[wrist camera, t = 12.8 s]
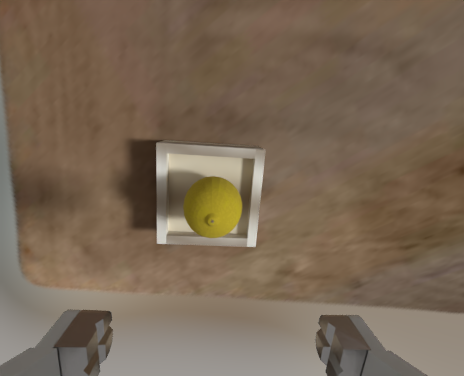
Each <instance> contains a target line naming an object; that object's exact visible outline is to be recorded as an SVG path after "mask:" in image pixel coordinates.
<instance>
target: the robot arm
mask: <svg viewBox="0 0 464 376" xmlns="http://www.w3.org/2000/svg"><path fill="white" fill-rule="evenodd" d="M111 321H112V314H111V312H110V311H98V310H67V311H65V312H64V313H63V314H62V315H61V317H60V318H59V319H58V320H57V321H56V323H55V324H54V325H53V326H52V327H51V329H50V330H49V331H48V332H47V334H46V335H45V336H44V337H43V338H42V340H41V341H40V342H39V343H38V344H37V346H36V347H35V348H29V349H27V350H26V351H24V352H23V353H21V354H19V355H17V356H16V357H14V358H12V359H11V360H9V361H7V362H5V363H4V364H2V365H1V366H0V376H98V375H99V373H100V364H101V363H102V362H103V361H104V360H105V359H106V358H107V356H108V354H109V351H110V348H111V344H112V339H113V338H112V337H113V329H111V327H110V326H109V324H110V323H111ZM319 325H320V327H321V329H320V330H319V331H318V332H317V333H316V349H317V353H318V355H319V358H320V360H321V361H322V362H323V363H324V364H325V365H327V367H326V374H327V376H427V375H426V374H424V373H423V372H421V371H420V370H418V369H417V368H415V367H414V366H412V365H411V364H409V363H408V362H406V361H405V360H403V359H402V358H400V357H399V356H397V355H396V354H394V353H393V352H391V351H386V350H385V348H384V347H383V346H382V344H381V343H380V342H379V340H378V339H377V338H376V336H375V335H374V334H373V332H372V331H371V330H370V328H369V327H368V326H367V324H366V323H365V322H364V320H363V319H362V318H361V317H360V316H358V315H321V316H320V318H319Z"/></svg>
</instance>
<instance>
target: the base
mask: <svg viewBox="0 0 464 376" xmlns="http://www.w3.org/2000/svg"><path fill="white" fill-rule="evenodd" d="M264 160H265V149H263V148H261V147H259V146H246V145H231V144H216V143H200V142H185V141H170V140H164V141H160V142H157V143H156V178H157V244H182V245H211V246H241V247H256V238H257V228H258V218H259V209H260V199H261V189H262V179H263V170H264ZM211 176H215V177H221V178H224V179H226V180H228V181H229V182H231V183H232V184H233V185H234V186H235V187H236V189H237V190H238V192H239V194H240V196H241V201H242V214H241V217H240V220H239V222H238V223H237V225H236V226H235V228H234V229H233V230H232V231H231V232H230V233H228V234H226V235H224V236H222V237H219V238H206V237H203V236H201V235H198V234H197V233H196V232H194V231H193V230H192V229H191V228H190V226H189V225H188V224H187V221H186V219H185V216H184V210H183V205H184V198H185V196H186V194H187V191H188V190H189V189H190V187H191V186H192V185H193V184H194V183H195V182H197V181H198V180H200V179H202V178H205V177H211Z"/></svg>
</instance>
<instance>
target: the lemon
mask: <svg viewBox="0 0 464 376" xmlns="http://www.w3.org/2000/svg"><path fill="white" fill-rule="evenodd" d="M183 210H184V216H185V219H186V221H187V224H188V225H189V226H190V228H191V229H192V230H193V231H194V232H196V233H197V234H198V235H201V236H203V237H206V238H219V237H222V236H224V235H226V234H228V233H230V232H231V231H232V230H233V229H234V228H235V226H236V225H237V223H238V222H239V220H240V217H241V214H242V201H241V196H240V194H239V192H238V190H237V189H236V187H235V186H234V185H233V184H232V183H231V182H229V181H228V180H226V179H224V178H221V177H215V176H211V177H205V178H202V179H200V180H198V181H197V182H195V183H194V184H193V185H192V186H191V187H190V189H189V190H188V191H187V194H186V196H185V198H184V205H183Z"/></svg>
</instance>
